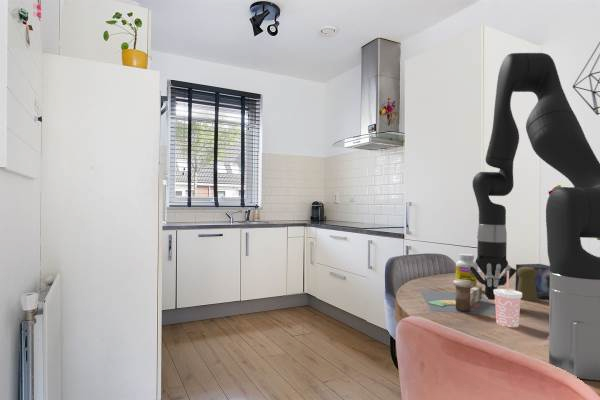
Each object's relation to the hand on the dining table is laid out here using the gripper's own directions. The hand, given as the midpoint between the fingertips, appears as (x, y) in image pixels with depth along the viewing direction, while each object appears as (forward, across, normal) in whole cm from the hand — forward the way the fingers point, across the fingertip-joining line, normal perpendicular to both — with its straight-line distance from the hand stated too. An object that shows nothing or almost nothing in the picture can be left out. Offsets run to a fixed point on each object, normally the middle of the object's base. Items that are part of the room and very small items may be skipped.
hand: (491, 299), depth 106 cm
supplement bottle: (+3, -2, +20) cm, 20 cm away
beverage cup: (+3, -2, -19) cm, 19 cm away
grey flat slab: (+2, -9, 0) cm, 9 cm away
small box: (+3, +19, +18) cm, 26 cm away
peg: (+1, -7, -5) cm, 8 cm away
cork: (+3, +13, +9) cm, 16 cm away
